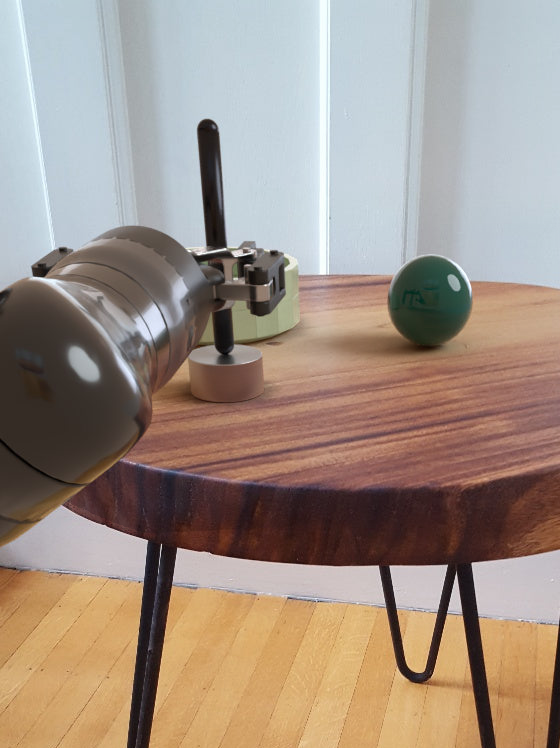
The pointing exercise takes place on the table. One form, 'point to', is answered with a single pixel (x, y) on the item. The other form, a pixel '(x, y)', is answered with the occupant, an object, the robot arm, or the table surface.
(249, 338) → the bowl
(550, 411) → the table surface
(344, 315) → the table surface
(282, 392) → the table surface
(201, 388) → the joystick
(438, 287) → the sphere
